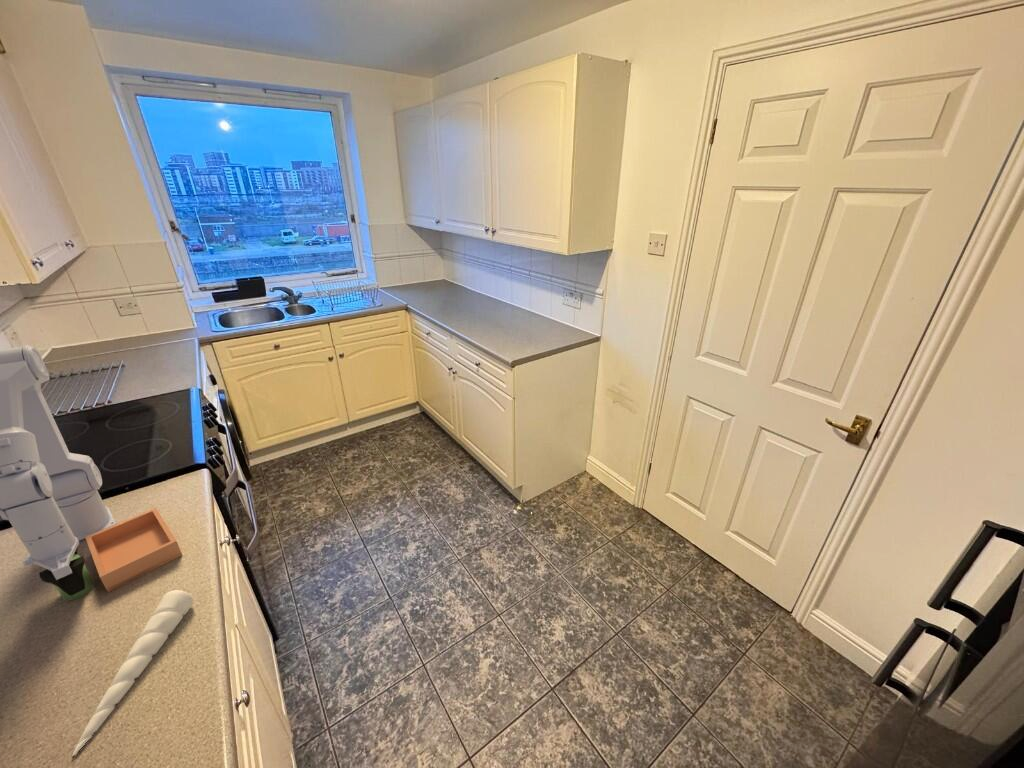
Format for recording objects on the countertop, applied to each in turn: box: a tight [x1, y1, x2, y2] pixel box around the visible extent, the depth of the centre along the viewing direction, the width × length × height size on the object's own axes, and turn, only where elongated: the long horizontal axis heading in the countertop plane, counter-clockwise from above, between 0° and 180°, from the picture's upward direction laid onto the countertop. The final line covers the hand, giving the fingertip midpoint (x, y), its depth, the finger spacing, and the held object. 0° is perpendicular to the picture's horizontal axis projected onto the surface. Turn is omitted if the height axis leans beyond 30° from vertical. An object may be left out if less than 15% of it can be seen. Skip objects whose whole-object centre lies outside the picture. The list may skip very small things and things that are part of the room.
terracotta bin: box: [85, 507, 183, 593], centre depth 88 cm, size 16×12×4 cm
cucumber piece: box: [45, 553, 96, 601], centre depth 79 cm, size 4×4×7 cm
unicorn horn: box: [71, 589, 194, 757], centre depth 66 cm, size 5×24×5 cm, turn 1°
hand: (75, 584), depth 80 cm, fingers closed on cucumber piece, 4 cm apart
